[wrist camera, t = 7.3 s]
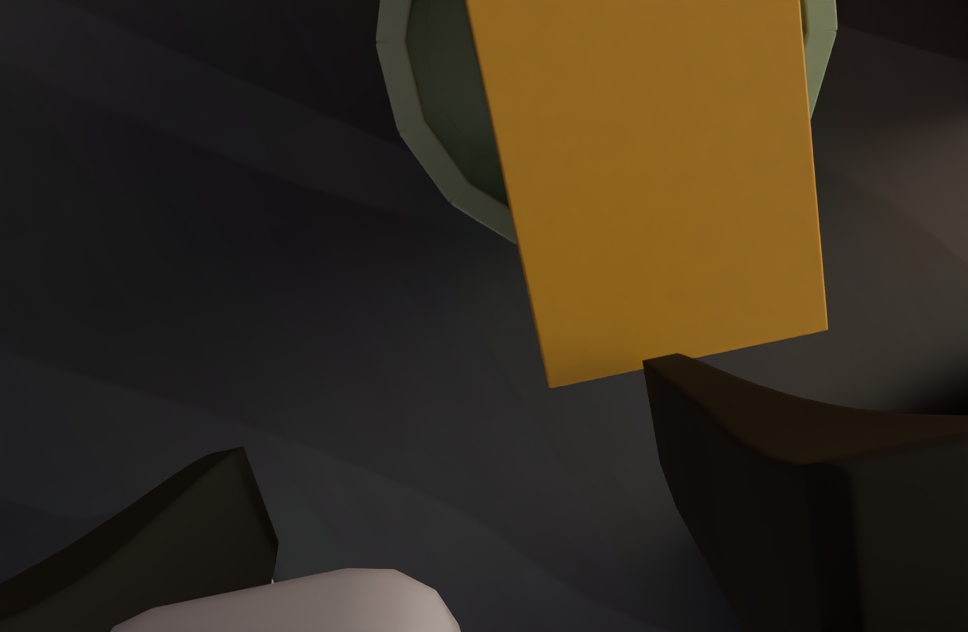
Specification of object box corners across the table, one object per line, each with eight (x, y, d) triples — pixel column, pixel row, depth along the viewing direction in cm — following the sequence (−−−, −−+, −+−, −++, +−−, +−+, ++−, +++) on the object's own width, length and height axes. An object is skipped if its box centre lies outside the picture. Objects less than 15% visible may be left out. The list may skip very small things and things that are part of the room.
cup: (448, 230, 23) (439, 297, 17) (368, -97, 20) (322, -162, 14) (747, 163, 22) (851, 206, 16) (707, -183, 20) (816, -290, 13)
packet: (535, 328, 17) (548, 389, 14) (408, -256, 13) (390, -345, 10) (764, 279, 17) (829, 330, 14) (696, -331, 13) (763, -445, 10)
